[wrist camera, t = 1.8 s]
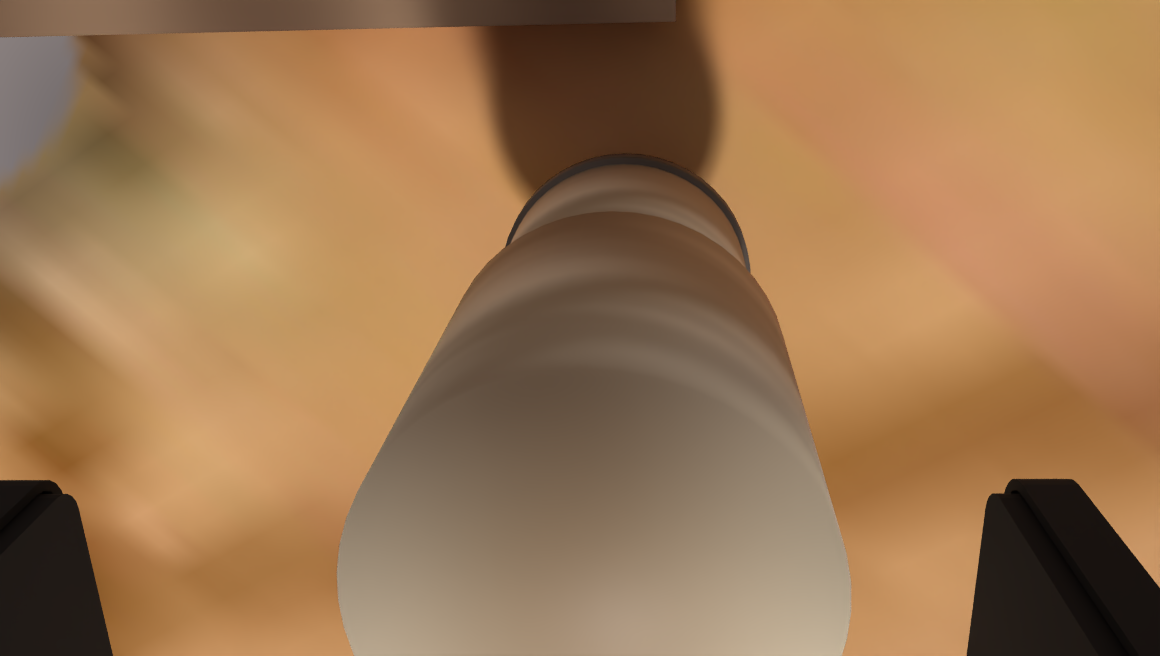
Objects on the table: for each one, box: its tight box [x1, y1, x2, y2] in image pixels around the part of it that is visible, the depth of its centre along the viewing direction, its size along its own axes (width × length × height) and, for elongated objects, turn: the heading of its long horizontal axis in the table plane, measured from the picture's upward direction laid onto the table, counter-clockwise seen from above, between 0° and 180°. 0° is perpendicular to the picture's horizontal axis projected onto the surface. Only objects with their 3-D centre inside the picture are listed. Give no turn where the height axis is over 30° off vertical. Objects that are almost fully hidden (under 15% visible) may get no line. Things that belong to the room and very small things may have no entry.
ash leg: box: [337, 154, 851, 656], centre depth 18 cm, size 5×5×14 cm
